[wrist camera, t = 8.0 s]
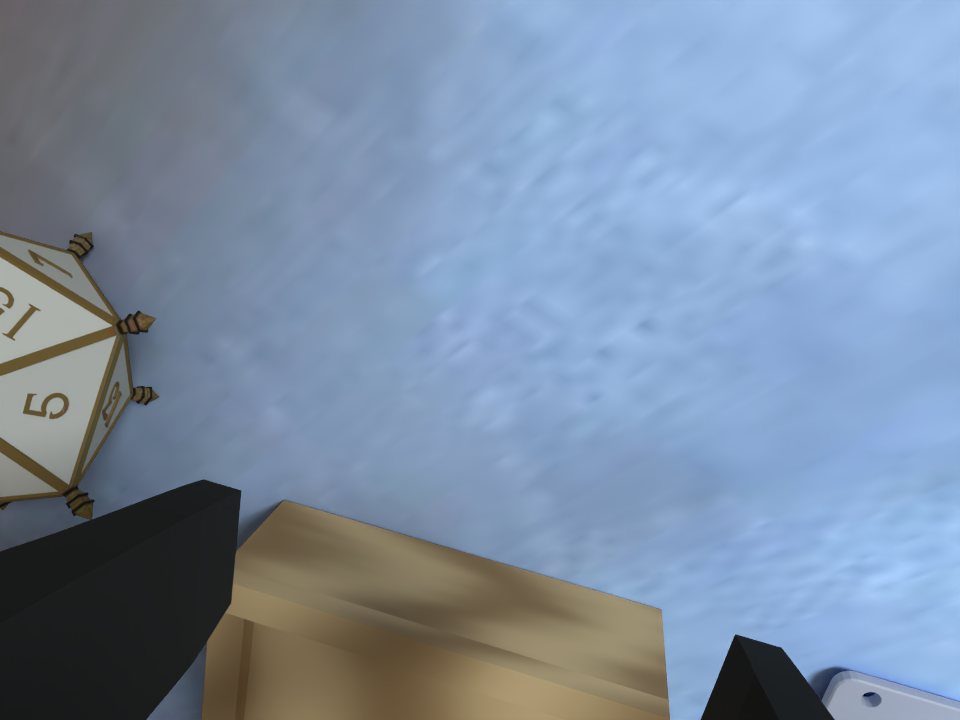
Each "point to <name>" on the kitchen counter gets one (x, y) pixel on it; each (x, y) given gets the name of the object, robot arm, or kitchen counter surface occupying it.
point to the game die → (58, 370)
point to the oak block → (419, 634)
